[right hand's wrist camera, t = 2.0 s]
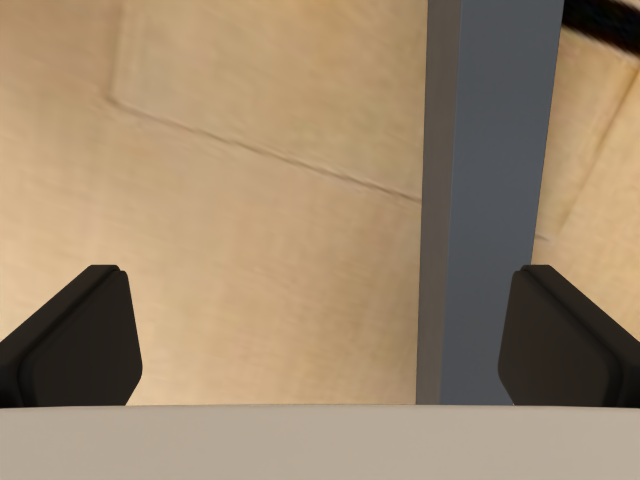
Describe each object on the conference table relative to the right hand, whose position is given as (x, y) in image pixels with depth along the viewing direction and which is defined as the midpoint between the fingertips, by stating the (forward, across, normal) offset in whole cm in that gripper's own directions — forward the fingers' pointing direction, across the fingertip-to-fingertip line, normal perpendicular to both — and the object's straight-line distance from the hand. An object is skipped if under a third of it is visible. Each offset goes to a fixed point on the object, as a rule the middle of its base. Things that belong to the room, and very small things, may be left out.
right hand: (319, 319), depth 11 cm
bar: (+21, -10, +12) cm, 26 cm away
